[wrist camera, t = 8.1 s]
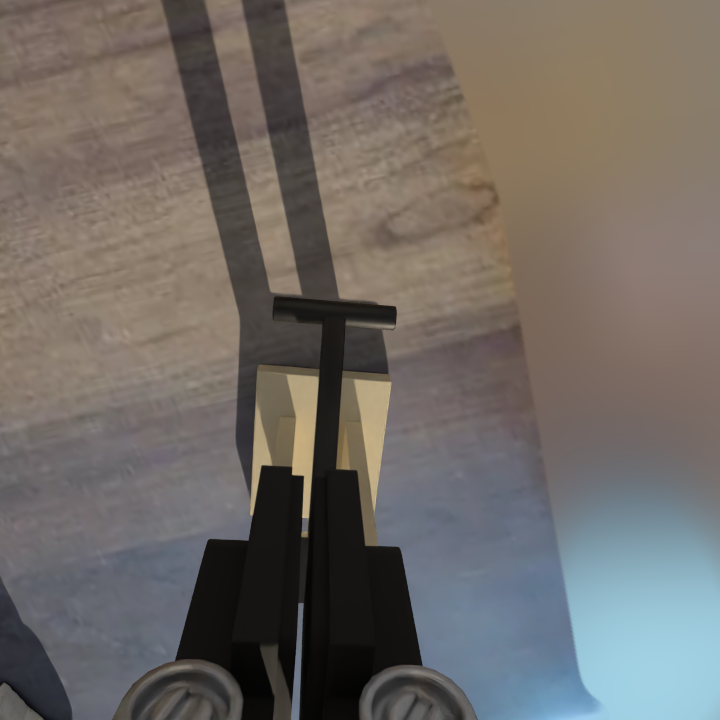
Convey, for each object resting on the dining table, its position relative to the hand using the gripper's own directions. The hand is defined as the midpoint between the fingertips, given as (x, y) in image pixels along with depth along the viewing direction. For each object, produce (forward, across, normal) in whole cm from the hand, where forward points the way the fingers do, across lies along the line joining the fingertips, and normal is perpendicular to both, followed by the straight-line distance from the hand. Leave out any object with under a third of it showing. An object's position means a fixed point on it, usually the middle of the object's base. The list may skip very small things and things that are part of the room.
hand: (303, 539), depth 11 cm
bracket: (+26, -1, +12) cm, 29 cm away
